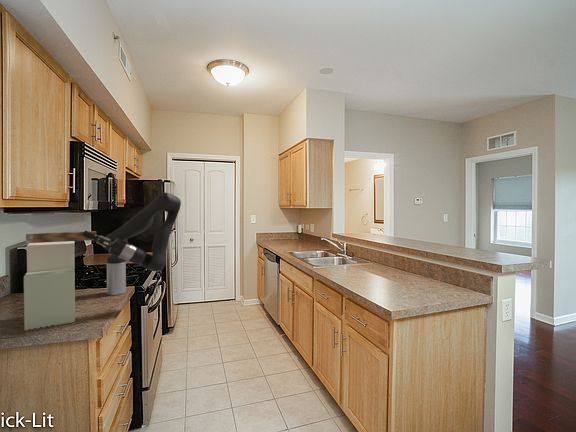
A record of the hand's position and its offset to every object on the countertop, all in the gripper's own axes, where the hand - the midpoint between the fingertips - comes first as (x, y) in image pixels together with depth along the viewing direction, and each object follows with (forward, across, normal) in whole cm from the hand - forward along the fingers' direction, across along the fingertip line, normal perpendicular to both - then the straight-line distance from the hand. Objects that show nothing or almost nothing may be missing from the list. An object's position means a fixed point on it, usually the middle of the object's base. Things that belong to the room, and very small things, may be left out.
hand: (84, 232), depth 132 cm
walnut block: (+5, 0, +6) cm, 8 cm away
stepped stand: (-8, -5, +38) cm, 39 cm away
